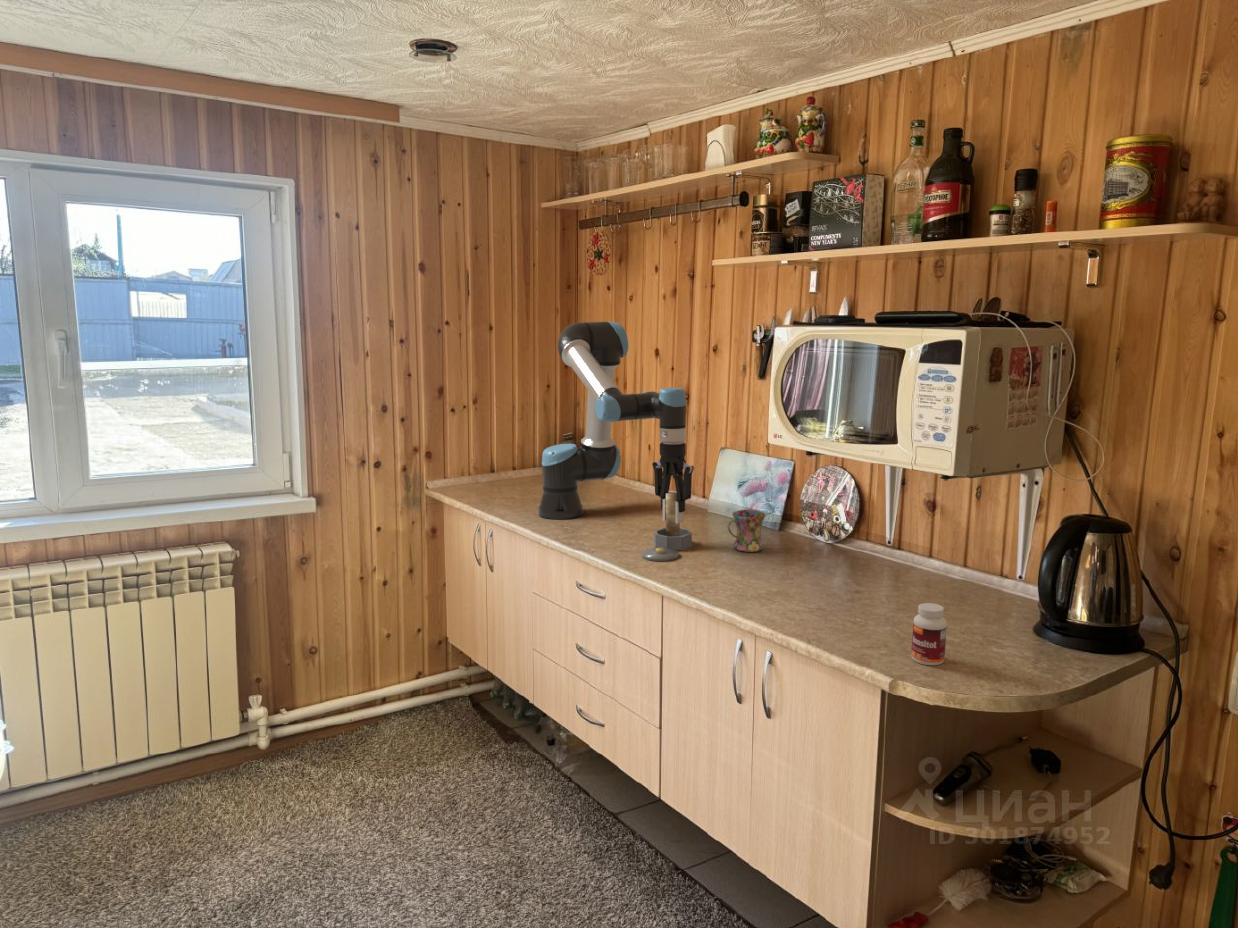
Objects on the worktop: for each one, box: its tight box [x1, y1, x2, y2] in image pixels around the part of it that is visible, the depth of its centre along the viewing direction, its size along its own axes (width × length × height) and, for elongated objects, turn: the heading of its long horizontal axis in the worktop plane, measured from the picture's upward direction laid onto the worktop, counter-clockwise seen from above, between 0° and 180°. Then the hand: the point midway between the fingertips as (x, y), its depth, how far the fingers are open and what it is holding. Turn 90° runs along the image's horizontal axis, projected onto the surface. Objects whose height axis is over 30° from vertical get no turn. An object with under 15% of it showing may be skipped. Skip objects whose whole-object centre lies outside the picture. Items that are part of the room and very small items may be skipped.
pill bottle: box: [910, 602, 948, 666], centre depth 168 cm, size 6×6×11 cm
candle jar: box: [653, 527, 693, 551], centre depth 251 cm, size 11×11×4 cm
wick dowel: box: [665, 491, 681, 536], centre depth 250 cm, size 4×4×12 cm
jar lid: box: [641, 547, 679, 562], centre depth 241 cm, size 10×10×2 cm
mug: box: [726, 509, 766, 553], centre depth 245 cm, size 12×9×11 cm
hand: (672, 521), depth 250 cm, fingers closed on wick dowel, 4 cm apart
